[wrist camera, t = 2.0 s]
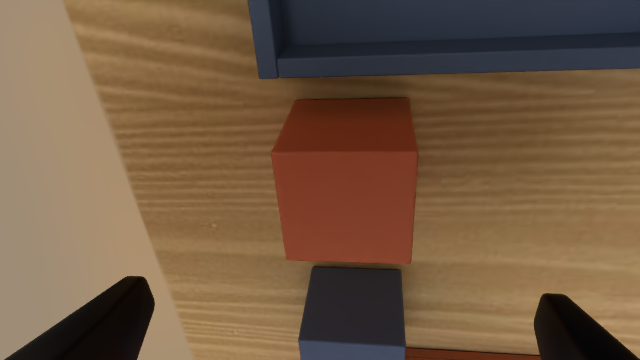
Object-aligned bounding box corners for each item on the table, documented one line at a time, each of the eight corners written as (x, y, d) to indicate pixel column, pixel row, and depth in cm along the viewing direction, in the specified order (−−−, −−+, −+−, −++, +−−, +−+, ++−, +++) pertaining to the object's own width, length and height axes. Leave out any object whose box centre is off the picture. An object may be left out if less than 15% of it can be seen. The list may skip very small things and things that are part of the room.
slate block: (318, 324, 21) (306, 401, 18) (311, 266, 19) (297, 340, 16) (398, 328, 20) (402, 409, 17) (401, 269, 18) (405, 347, 15)
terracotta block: (304, 193, 17) (285, 261, 13) (294, 99, 15) (269, 152, 11) (404, 194, 16) (411, 265, 13) (409, 97, 14) (418, 152, 11)
